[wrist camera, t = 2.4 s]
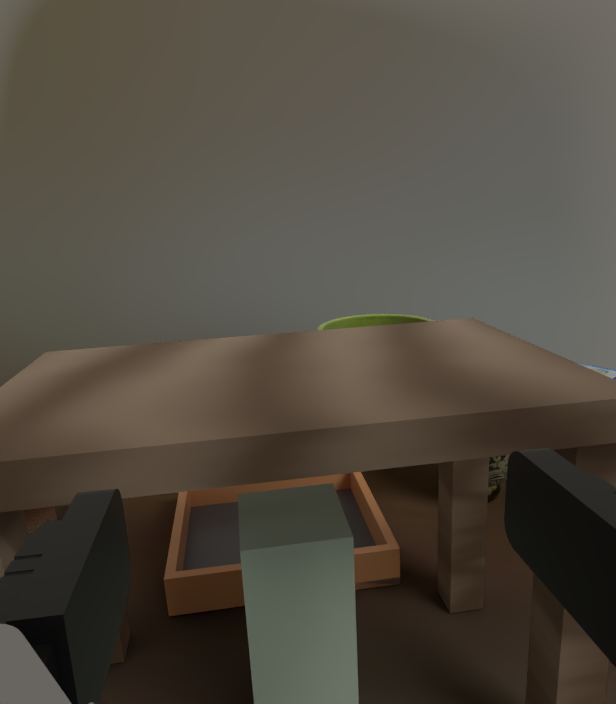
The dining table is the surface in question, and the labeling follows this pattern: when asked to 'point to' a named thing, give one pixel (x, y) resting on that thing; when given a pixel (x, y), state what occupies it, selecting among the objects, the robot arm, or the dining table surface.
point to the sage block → (299, 596)
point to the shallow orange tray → (224, 545)
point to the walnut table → (318, 439)
